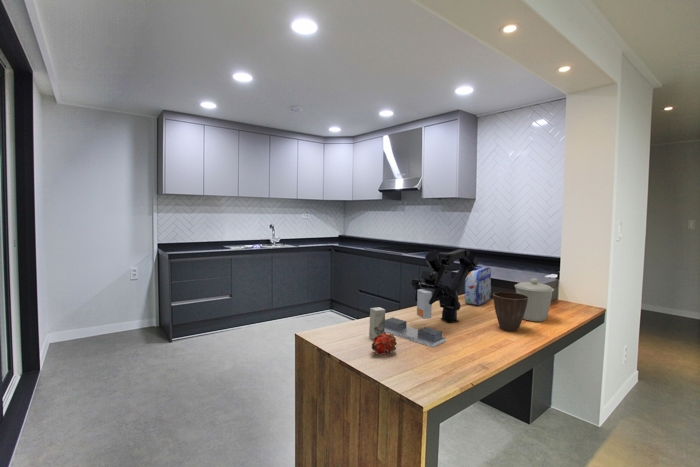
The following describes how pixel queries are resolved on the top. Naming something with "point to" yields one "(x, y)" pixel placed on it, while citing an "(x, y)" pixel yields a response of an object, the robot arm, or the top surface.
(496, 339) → the top surface
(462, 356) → the top surface
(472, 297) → the lunch box
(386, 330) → the rail plate
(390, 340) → the dragon fruit
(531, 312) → the canister
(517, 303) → the plant pot
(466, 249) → the robot arm
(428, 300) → the skincare box
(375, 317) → the box
